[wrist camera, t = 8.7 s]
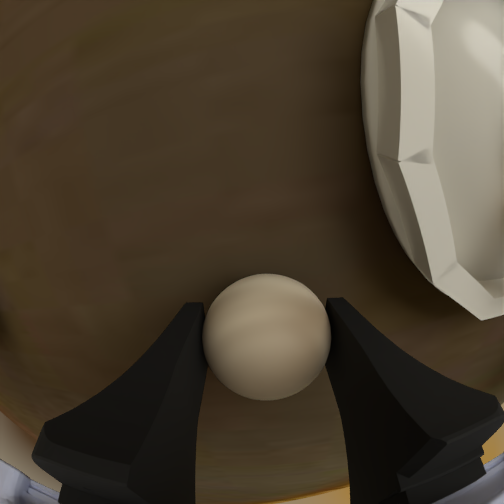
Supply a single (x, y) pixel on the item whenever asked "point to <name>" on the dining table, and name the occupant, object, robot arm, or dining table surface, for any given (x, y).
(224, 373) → the bead birch
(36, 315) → the dining table surface
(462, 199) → the tray
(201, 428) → the dining table surface
